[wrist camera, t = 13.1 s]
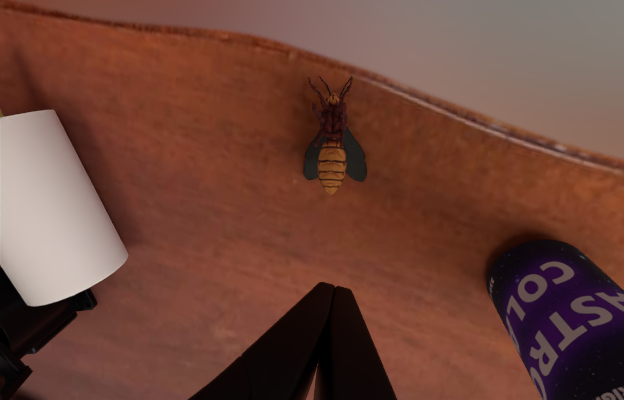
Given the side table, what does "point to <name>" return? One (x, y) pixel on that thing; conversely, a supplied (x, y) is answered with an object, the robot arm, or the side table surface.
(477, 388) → the side table surface
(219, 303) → the side table surface
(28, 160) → the candle
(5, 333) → the robot arm
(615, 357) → the beverage can
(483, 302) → the side table surface
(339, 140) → the insect
